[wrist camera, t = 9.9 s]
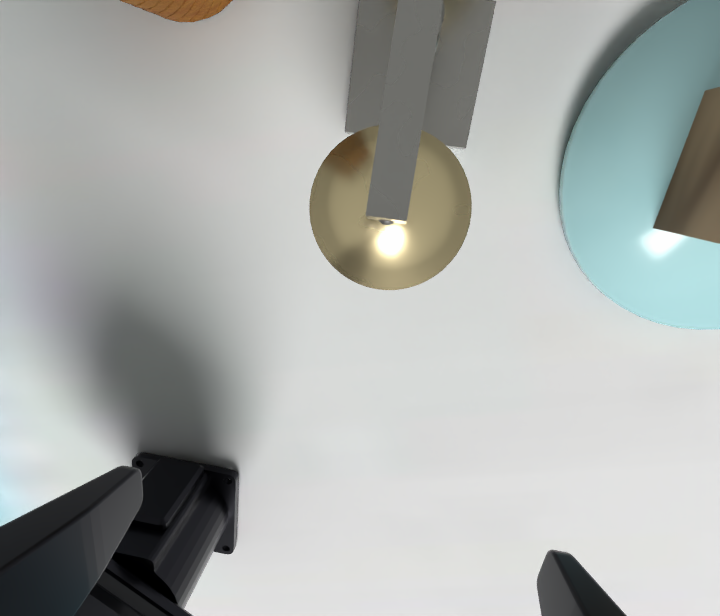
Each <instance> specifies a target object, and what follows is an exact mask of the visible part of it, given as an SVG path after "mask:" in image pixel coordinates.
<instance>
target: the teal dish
mask: <svg viewBox="0 0 720 616" xmlns="http://www.w3.org/2000/svg"><path fill="white" fill-rule="evenodd" d="M717 87H720V0H689V1H687V2H686V3H684V4H682V5H681V6H679V7H678V8H676V9H675V10H673V11H672V12H670V13H669V14H667V15H666V16H664V17H663V18H661V19H660V20H658V21H657V22H656V23H655V24H654V25H652V26H651V27H650V28H649V29H648V30H646V31H645V32H644V33H643V34H642V35H640V36H639V37H638V38H637V39H636V40H635V41H634V42H633V43H632V44H631V45H630V46H629V47H628V48H627V49H626V50H625V51H624V52H623V53H622V54H621V55H620V56H619V57H618V58H617V59H616V60H615V62H614V63H613V64H612V65H611V67H610V68H609V69H608V70H607V72H606V73H605V74H604V76H603V77H602V78H601V79H600V81H599V82H598V84H597V85H596V87H595V88H594V90H593V92H592V93H591V95H590V96H589V98H588V100H587V101H586V103H585V105H584V107H583V109H582V111H581V113H580V115H579V117H578V119H577V121H576V123H575V125H574V128H573V130H572V133H571V136H570V139H569V142H568V145H567V147H566V151H565V156H564V160H563V165H562V169H561V178H560V188H559V201H560V215H561V221H562V226H563V232H564V235H565V238H566V241H567V243H568V246H569V249H570V251H571V253H572V255H573V257H574V259H575V261H576V263H577V265H578V266H579V268H580V269H581V270H582V272H583V273H584V274H585V276H586V277H587V279H588V280H589V281H590V282H591V283H592V284H593V285H594V286H595V287H596V288H597V289H598V290H599V291H600V292H601V293H602V294H604V295H605V296H607V297H608V298H609V299H611V300H612V301H613V302H615V303H616V304H618V305H619V306H621V307H622V308H624V309H626V310H628V311H630V312H632V313H634V314H636V315H638V316H639V317H642V318H645V319H648V320H650V321H653V322H656V323H659V324H664V325H668V326H673V327H677V328H688V329H698V330H701V329H720V244H718V243H714V242H710V241H705V240H701V239H697V238H693V237H688V236H684V235H680V234H676V233H671V232H667V231H663V230H658V229H654V228H653V226H654V223H655V221H656V218H657V216H658V213H659V210H660V208H661V205H662V202H663V200H664V197H665V195H666V192H667V189H668V187H669V184H670V181H671V179H672V176H673V173H674V171H675V168H676V166H677V163H678V160H679V158H680V155H681V152H682V150H683V147H684V145H685V142H686V139H687V137H688V134H689V131H690V129H691V126H692V124H693V121H694V118H695V116H696V113H697V110H698V108H699V105H700V103H701V100H702V97H703V95H704V92H705V91H706V90H709V89H713V88H717Z"/></svg>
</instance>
